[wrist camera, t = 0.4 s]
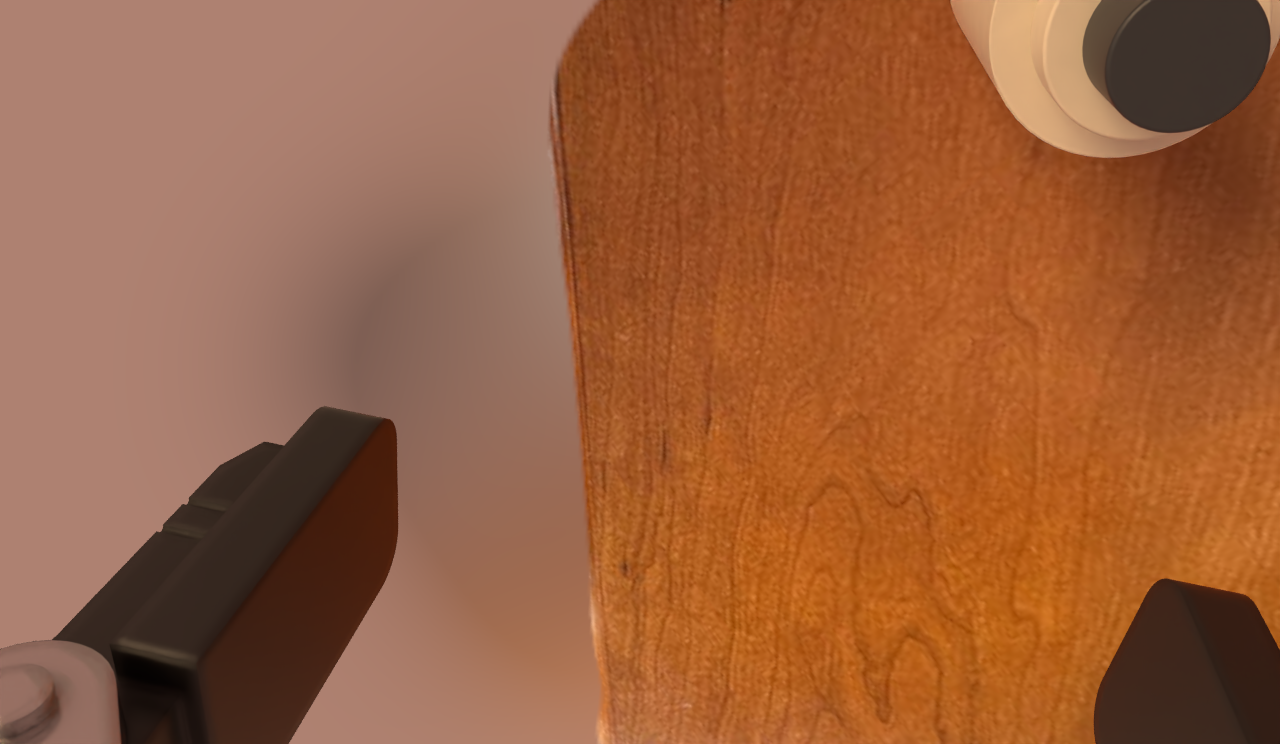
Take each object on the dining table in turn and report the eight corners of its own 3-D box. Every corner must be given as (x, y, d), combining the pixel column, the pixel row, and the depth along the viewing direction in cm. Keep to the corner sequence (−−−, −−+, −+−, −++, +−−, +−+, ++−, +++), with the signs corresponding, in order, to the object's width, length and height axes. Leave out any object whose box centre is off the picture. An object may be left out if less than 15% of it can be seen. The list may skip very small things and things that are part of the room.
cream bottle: (978, -158, 26) (1073, -144, 16) (1193, -133, 26) (1446, -100, 15) (926, 54, 29) (977, 189, 18) (1118, 81, 28) (1286, 236, 18)
